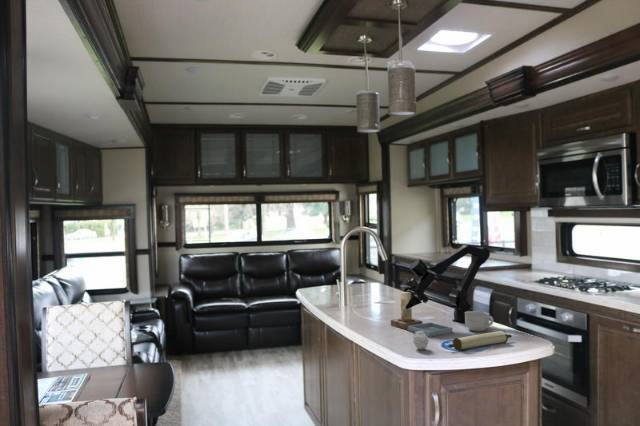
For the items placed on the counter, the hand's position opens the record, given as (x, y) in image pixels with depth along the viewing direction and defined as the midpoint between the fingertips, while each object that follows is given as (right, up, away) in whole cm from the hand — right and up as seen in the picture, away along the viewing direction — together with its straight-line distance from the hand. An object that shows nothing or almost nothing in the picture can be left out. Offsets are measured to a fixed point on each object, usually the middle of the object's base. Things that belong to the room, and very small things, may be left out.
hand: (403, 307), depth 234 cm
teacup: (+33, -8, -12) cm, 36 cm away
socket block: (+2, -9, 0) cm, 9 cm away
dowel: (+2, -7, 0) cm, 7 cm away
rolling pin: (+25, -9, -37) cm, 45 cm away
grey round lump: (0, -9, -40) cm, 41 cm away
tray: (+10, -9, -12) cm, 18 cm away
